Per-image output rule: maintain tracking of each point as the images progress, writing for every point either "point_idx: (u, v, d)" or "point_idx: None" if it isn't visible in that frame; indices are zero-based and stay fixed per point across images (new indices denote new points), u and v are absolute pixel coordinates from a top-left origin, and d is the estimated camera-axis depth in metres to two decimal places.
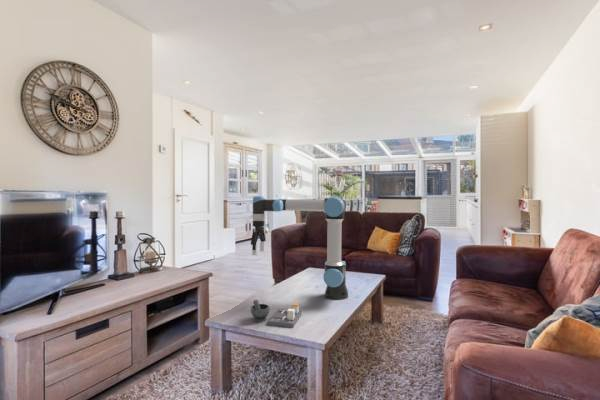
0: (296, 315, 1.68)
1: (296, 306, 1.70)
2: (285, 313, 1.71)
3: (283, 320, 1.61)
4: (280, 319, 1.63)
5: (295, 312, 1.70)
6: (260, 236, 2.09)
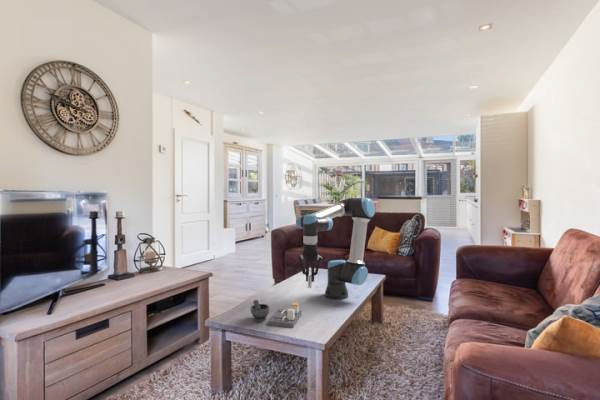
0: (296, 315, 1.68)
1: (296, 306, 1.70)
2: (285, 313, 1.71)
3: (283, 320, 1.61)
4: (280, 319, 1.63)
5: (295, 312, 1.70)
6: None
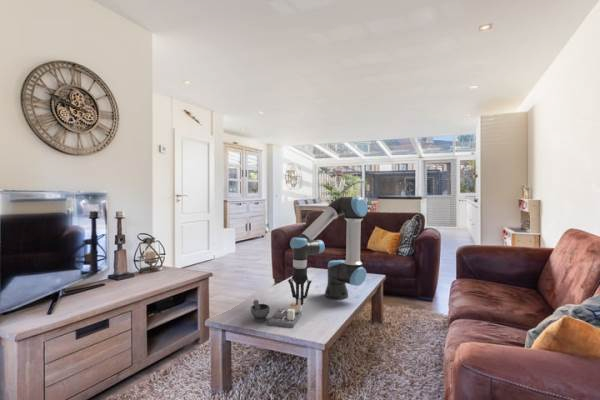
0: (296, 315, 1.68)
1: (294, 306, 1.70)
2: (285, 313, 1.71)
3: (283, 320, 1.61)
4: (280, 319, 1.63)
5: None
6: None
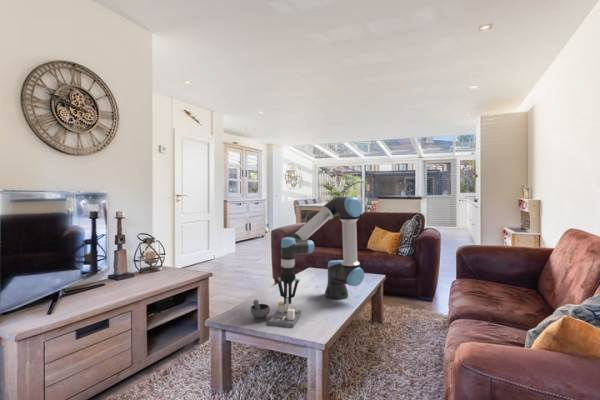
0: (296, 315, 1.68)
1: (282, 305, 1.72)
2: (285, 313, 1.71)
3: (283, 320, 1.61)
4: (280, 319, 1.63)
5: (281, 311, 1.72)
6: None
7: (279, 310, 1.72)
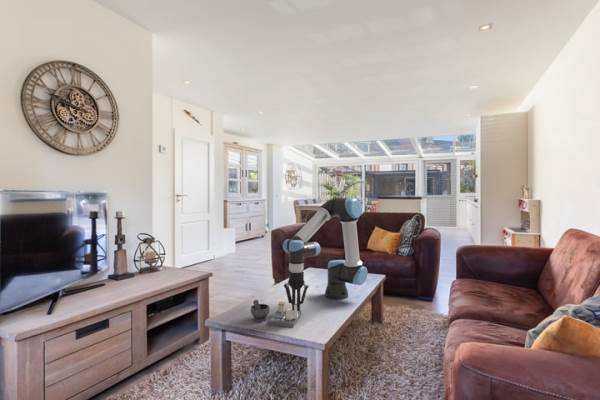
0: None
1: (282, 305, 1.72)
2: (285, 313, 1.71)
3: (283, 320, 1.61)
4: (280, 319, 1.63)
5: (281, 311, 1.72)
6: None
7: (279, 310, 1.72)
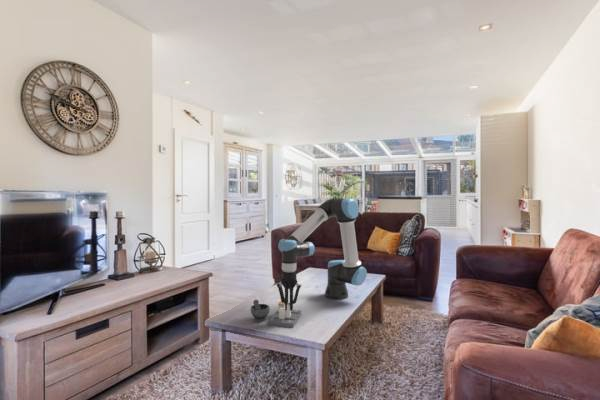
0: (296, 315, 1.68)
1: (282, 305, 1.72)
2: None
3: (283, 320, 1.61)
4: (280, 319, 1.63)
5: None
6: None
7: None
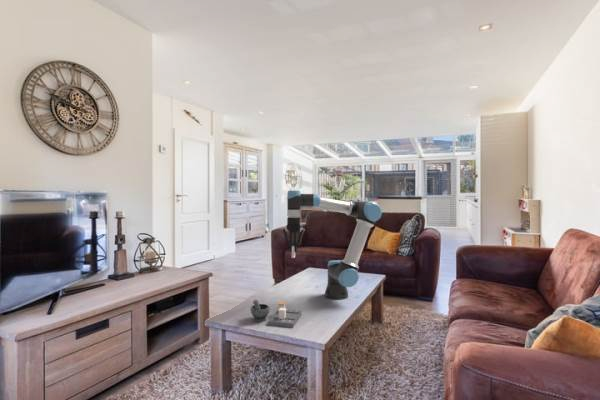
0: (296, 315, 1.68)
1: (282, 305, 1.72)
2: None
3: (283, 320, 1.61)
4: (280, 319, 1.63)
5: None
6: None
7: None
